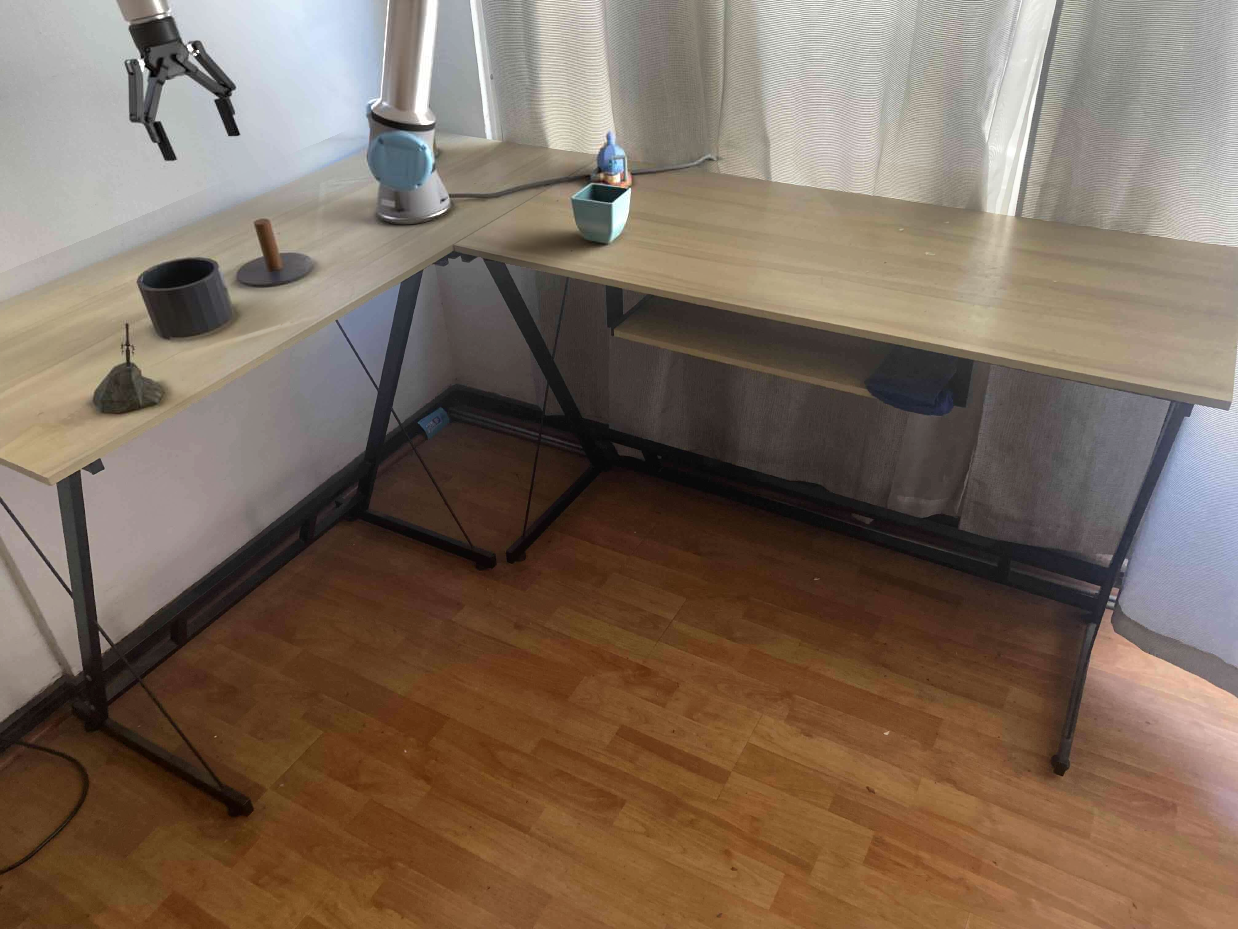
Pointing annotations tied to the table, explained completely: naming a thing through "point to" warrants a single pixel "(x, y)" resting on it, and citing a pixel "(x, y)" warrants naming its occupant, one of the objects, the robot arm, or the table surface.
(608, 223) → the flower pot
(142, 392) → the sword in stone
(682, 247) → the table surface
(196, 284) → the tin
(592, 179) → the model
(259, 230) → the lid
